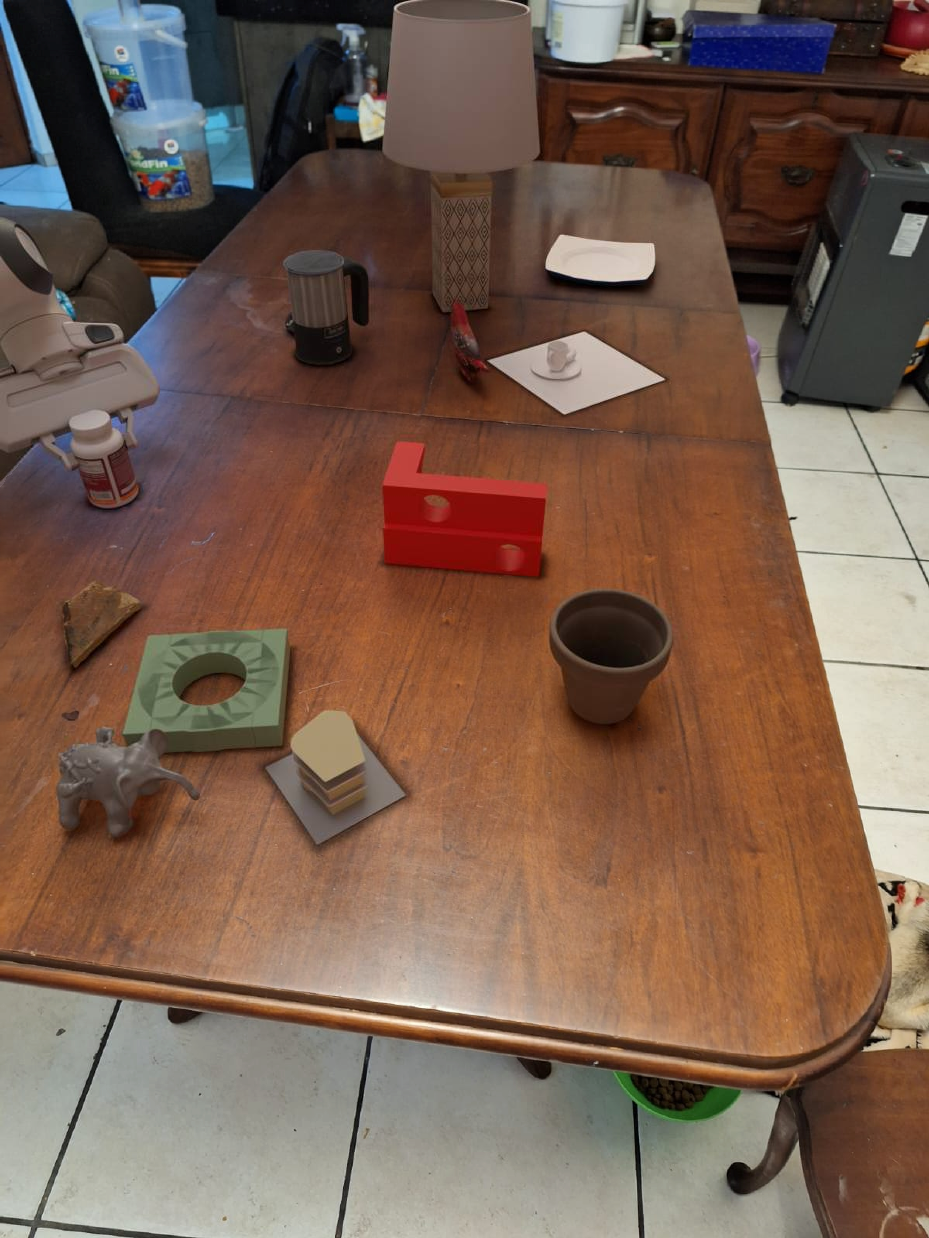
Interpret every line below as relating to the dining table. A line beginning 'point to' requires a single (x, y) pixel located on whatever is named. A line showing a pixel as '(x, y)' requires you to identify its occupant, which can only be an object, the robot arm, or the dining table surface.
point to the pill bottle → (102, 460)
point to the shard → (94, 618)
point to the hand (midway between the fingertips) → (104, 458)
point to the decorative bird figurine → (465, 342)
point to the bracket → (460, 519)
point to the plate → (600, 261)
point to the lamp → (461, 123)
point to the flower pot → (608, 650)
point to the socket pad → (221, 725)
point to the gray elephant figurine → (113, 777)
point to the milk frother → (324, 304)
